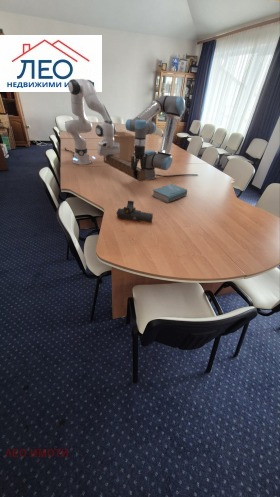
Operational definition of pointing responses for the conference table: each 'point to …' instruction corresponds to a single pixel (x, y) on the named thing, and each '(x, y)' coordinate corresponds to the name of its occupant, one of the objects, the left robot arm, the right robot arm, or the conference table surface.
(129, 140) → the box
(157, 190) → the book
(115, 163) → the bar
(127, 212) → the laser sight
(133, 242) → the conference table surface
